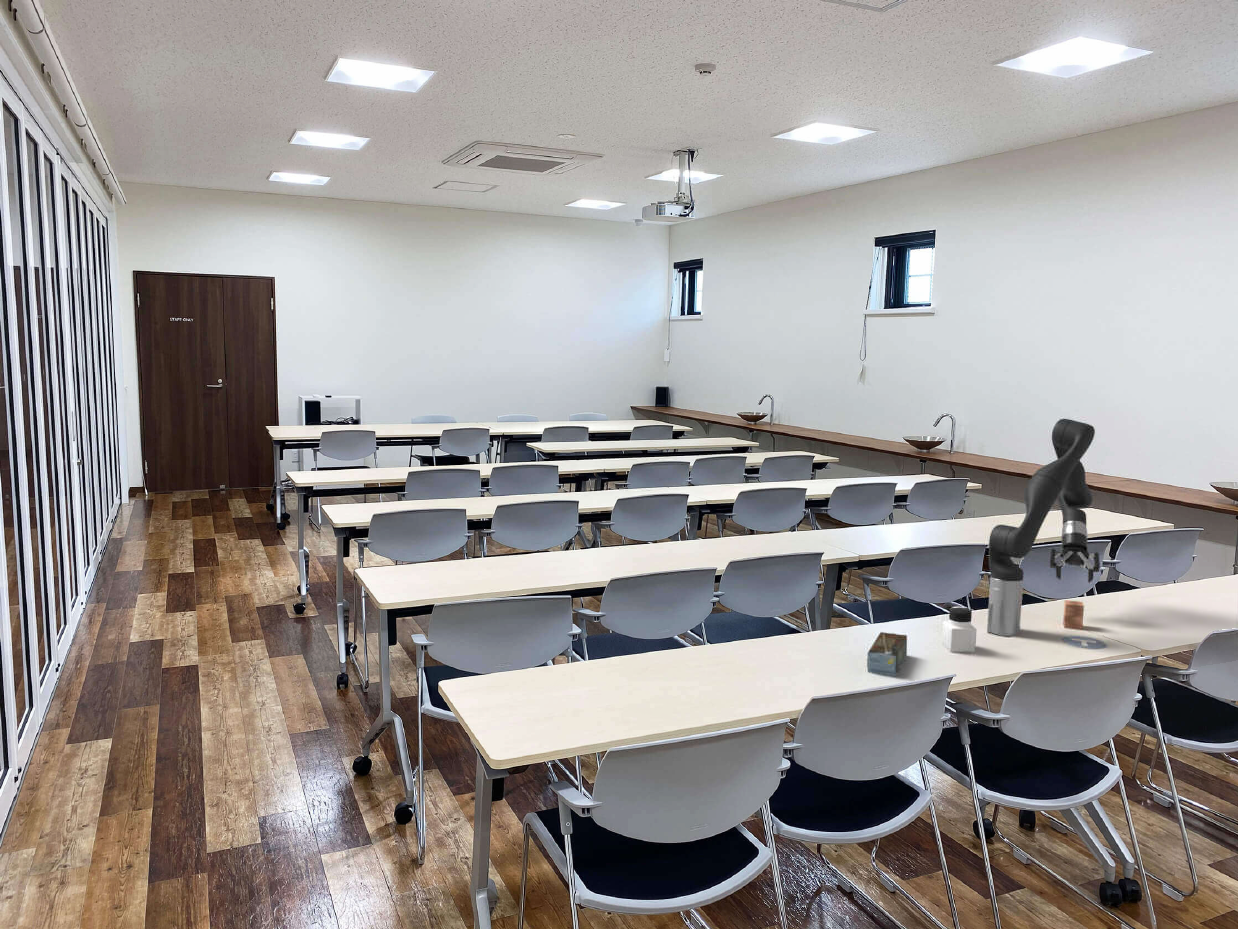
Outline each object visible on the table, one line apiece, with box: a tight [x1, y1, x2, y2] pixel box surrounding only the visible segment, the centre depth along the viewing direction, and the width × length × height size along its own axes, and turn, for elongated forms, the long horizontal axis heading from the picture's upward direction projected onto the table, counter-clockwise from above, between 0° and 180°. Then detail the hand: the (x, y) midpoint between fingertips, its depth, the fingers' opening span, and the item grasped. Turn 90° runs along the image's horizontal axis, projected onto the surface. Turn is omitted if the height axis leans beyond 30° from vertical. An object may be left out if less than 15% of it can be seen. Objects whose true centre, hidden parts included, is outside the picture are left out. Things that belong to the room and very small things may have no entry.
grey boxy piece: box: [866, 631, 908, 677], centre depth 241 cm, size 8×19×7 cm, turn 153°
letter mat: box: [1060, 635, 1108, 650], centre depth 260 cm, size 12×12×1 cm
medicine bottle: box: [941, 606, 977, 653], centre depth 254 cm, size 7×7×12 cm
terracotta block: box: [1062, 599, 1085, 631], centre depth 274 cm, size 5×5×8 cm
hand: (1074, 579), depth 279 cm, fingers open, 8 cm apart
